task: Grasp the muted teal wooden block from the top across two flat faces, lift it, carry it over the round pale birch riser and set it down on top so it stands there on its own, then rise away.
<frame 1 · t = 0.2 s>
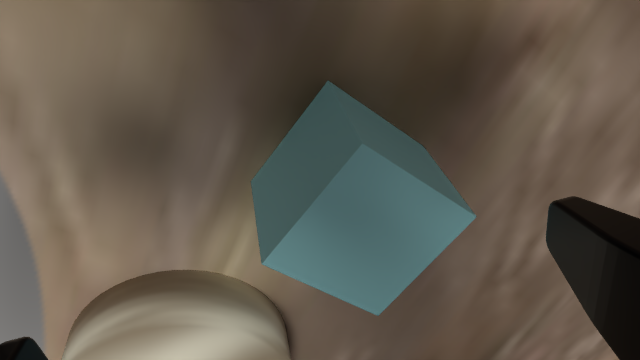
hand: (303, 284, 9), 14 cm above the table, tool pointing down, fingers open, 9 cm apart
teal block: (337, 162, 24), on the table
birch riser: (182, 347, 29), on the table
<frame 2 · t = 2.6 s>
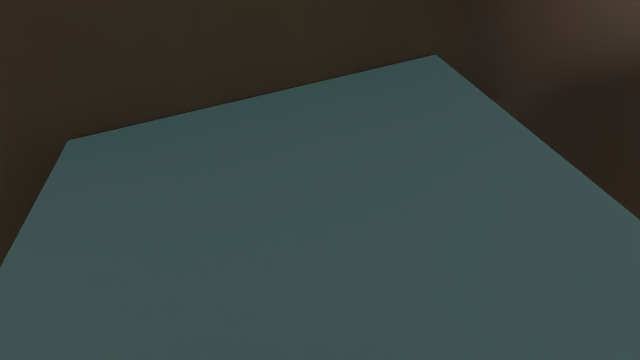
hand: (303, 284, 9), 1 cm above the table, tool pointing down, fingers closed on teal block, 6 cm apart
teal block: (293, 239, 10), on the table, touching gripper
when the fingers open (7 cm above the table, at t = 7.9 s): teal block drops 2 cm, resting on birch riser.
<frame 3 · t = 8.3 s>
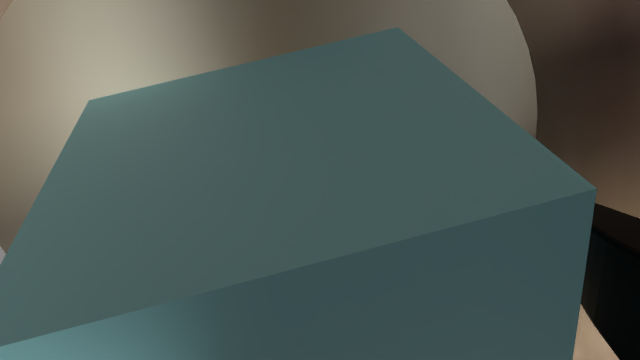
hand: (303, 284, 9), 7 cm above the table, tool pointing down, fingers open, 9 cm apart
teal block: (280, 191, 11), point 4 cm above the table, touching birch riser
birch riser: (265, 116, 15), on the table, touching teal block
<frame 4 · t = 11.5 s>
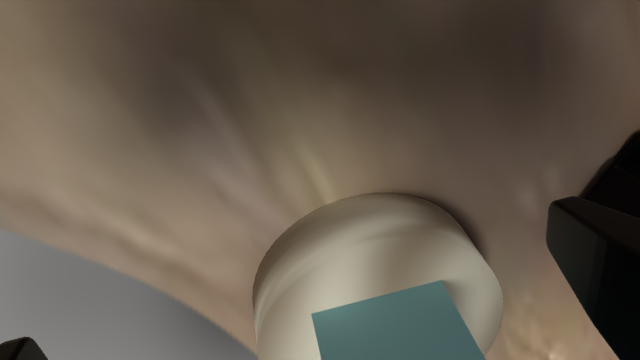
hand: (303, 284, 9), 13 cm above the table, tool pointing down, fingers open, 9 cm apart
teal block: (382, 340, 24), point 4 cm above the table, touching birch riser
birch riser: (363, 282, 27), on the table, touching teal block
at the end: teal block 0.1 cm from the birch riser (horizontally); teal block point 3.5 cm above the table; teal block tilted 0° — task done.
